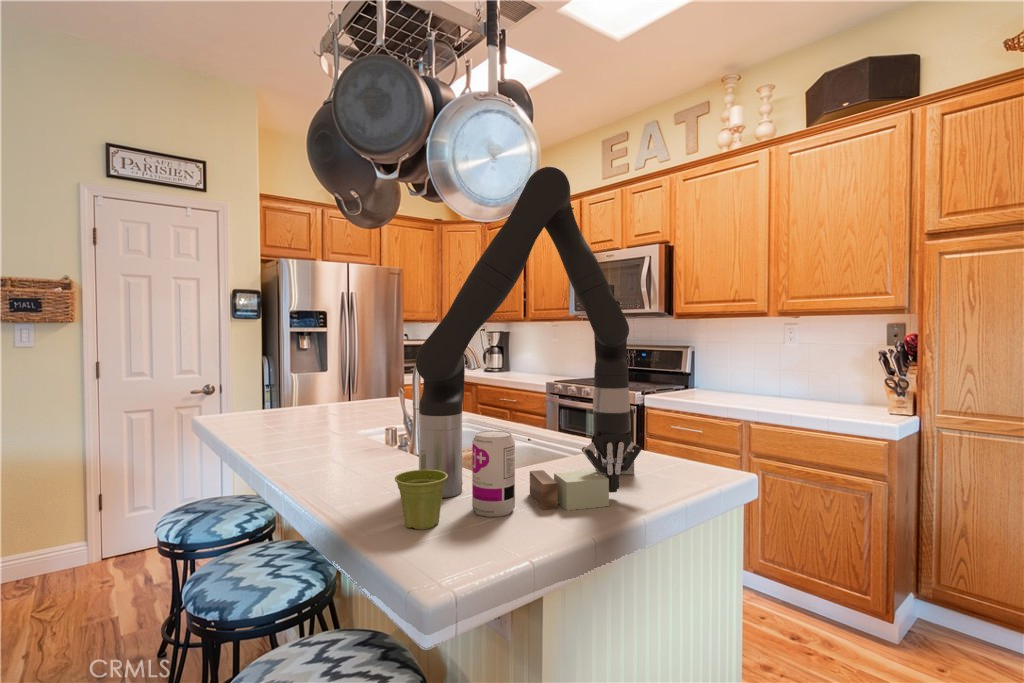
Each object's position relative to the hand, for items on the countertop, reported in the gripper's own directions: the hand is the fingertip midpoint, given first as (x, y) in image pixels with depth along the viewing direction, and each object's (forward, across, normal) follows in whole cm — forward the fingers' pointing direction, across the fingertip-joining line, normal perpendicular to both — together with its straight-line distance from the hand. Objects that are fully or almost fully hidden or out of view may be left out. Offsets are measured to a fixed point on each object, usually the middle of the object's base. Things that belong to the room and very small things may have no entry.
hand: (611, 491), depth 107 cm
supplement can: (+2, -26, -2) cm, 26 cm away
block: (+1, -7, -1) cm, 8 cm away
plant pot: (+2, -40, -6) cm, 40 cm away
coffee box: (+2, +10, +20) cm, 22 cm away
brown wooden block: (+1, -14, +2) cm, 15 cm away
